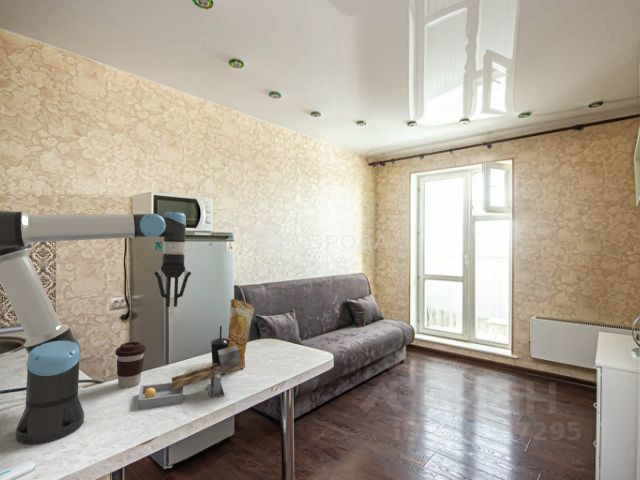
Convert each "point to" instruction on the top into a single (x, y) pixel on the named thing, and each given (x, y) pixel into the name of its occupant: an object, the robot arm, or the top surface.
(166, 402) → the dish
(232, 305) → the pancake mix bag
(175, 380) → the lever
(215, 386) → the stand
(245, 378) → the top surface
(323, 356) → the top surface
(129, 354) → the coffee cup
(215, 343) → the drinking cup
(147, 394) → the ball
